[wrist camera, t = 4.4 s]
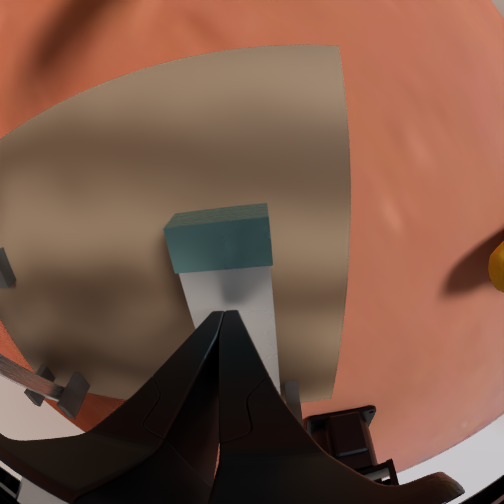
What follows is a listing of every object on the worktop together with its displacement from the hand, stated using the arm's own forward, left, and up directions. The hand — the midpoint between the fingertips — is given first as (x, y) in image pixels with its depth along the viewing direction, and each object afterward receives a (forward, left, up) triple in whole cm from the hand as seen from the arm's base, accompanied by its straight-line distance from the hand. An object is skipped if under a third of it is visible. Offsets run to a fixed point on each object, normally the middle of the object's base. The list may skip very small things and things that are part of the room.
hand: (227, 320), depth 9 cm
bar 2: (-3, 0, -2) cm, 4 cm away
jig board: (-1, +8, -5) cm, 10 cm away
